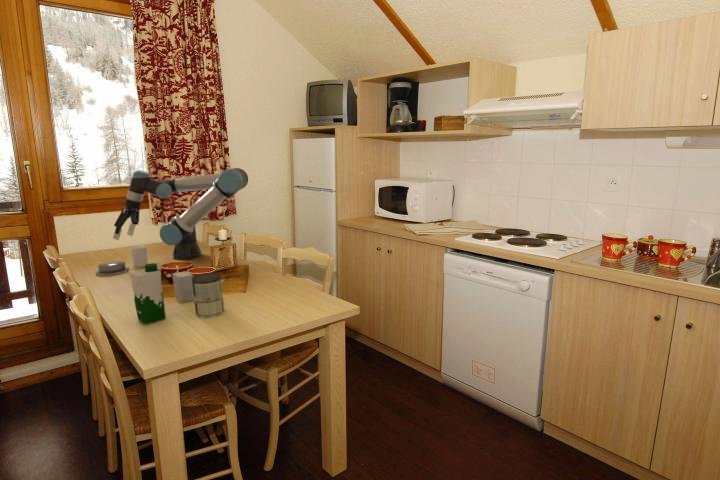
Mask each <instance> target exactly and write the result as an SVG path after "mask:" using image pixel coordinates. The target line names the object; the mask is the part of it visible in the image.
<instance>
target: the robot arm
mask: <svg viewBox="0 0 720 480" xmlns="http://www.w3.org/2000/svg"><path fill="white" fill-rule="evenodd" d="M248 183H249V176H248V174H247V172H246V171H245V170H244V169H242V168H240V167H234V168H227V169H225V170H223V171H221V172H220V173H213V174H203V175H194V176H185V177H178V178H166V179H162V180H157V179H153V178H151V174H150V173H149V172H147V171H145V170H142V169H141V170H140V169H136V170H134V172H133V174H132V175H131V180H130V184H129V187H128V190H127V193H126V194H127V195H126V198H125V200H124V206H126V207H125V208H122V209H121V212H120V214H119V215H118V217H117V219H116V221H115V222H114V224H113V226H114V227H115V230H114V233H113V236H112V239H114V240H117V241H119V240H120V237H121V234H122V231H123V230H122V229H123V226H124V225H125V224H126V221H127V220H128V219H130V223H129V226H128V229H127V233H126V235H128V236H131V237H133V235H134V232H135V230H136V226H138V225H139V222H140V212H141V211H140V210H141V206H142V201H143V199H144V196H145V193H147V194H151V195H153V196H155V197H158V198H161V199H167V198H169V197H170V195H171V194H175V193H176V194H177V193H183V192H192V191H193V192H194V191H202V190H208V191H206V192H205V193H204V194H203V195H202V196H201V197H200V198H198V199H197V200H196V201H195V202H193V204H191V205H190V206H189V207H188V208H187V209H186V210H185V211H184V212H183V213H182V214H181V215H180V214H176V215H175V216H172V217H171V219H170V220H169V222H167V223H165V224H163V225H162V226H161V227H160V228H159V237H160V240H161V241H162V243H164V244H166V245H167V246H174V247H173V251H172V259H174V260H191V259H196V258H199V257H201V256H202V250H201V247H200V246H199V244H198V240H197V232H196V225H198V223H200V221H202V220H203V219H204V218H205V217H206V216H208V214H210V213H211V212H212V211H213V210H215V208H216V207H218V206H219V205H220V204H221V203H222V202H224V200H226V199H231V198H232V197H234V195H235V194H237V193H238V192H239V191H241V190H243V189H244V188H246V187H247V185H248Z"/></svg>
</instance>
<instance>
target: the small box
mask: <svg viewBox="0 0 720 480" xmlns="http://www.w3.org/2000/svg"><path fill="white" fill-rule="evenodd" d="M192 277H194V274H193V273H191V272H188V271H181V272H176V273H175V272H174V273H172V281H173V282H172V283H173V289H174V297H175V299H176V300H178V301H179V302H181V303H187V302H190V301H194V292H193V284H192Z"/></svg>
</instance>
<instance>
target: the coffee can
mask: <svg viewBox="0 0 720 480" xmlns="http://www.w3.org/2000/svg"><path fill="white" fill-rule="evenodd" d="M192 284H193V292H194V300H193V301H194V306H195V307H194V309H195V316H196V317H197V318H200V319H209V318H215V317H216V318H217V317H218V316H221V315H223V314H224V313H226V312H225V310H226V309H225V306H224V305H225V303H224V293H223V285H222V274H221V273H219V272H206V273H205V272H204V273H199V274H197V275H193V277H192Z"/></svg>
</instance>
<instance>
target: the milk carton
mask: <svg viewBox="0 0 720 480" xmlns="http://www.w3.org/2000/svg"><path fill="white" fill-rule="evenodd" d="M130 279H131V285H132V286H131V287H132V292H133V298H134V306H135V311H136V314H137V319H138V321H140V322H141V323H143V324H144V325H149V324H152V323H153V324H154V323H156V322H159V321H163V320H166V309H165V308H166V307H165V299H164V294H163V293H164V292H163V286H162V272H161V270H159V269H158V263H154V262H153V263H152V262H151V263H148V264H146V265H145V266H144V269H138V270H136V271H131V272H130Z"/></svg>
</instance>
